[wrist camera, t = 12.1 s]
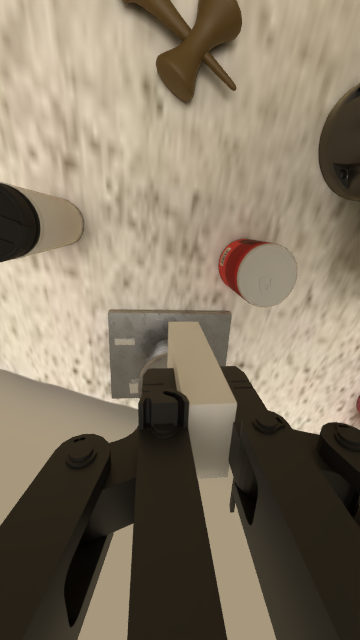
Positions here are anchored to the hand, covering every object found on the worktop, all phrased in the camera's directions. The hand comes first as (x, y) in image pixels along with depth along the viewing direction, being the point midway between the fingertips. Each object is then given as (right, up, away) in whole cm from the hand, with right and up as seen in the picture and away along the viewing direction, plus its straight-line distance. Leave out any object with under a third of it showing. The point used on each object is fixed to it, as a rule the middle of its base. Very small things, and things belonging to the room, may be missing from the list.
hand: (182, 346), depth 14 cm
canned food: (+10, +10, +30) cm, 33 cm away
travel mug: (-17, +15, +25) cm, 34 cm away
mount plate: (-2, -5, +34) cm, 34 cm away
